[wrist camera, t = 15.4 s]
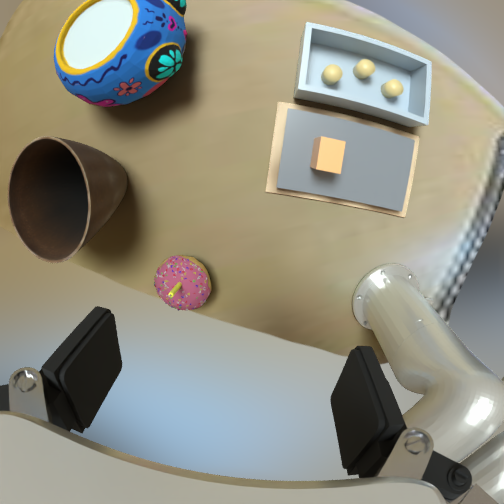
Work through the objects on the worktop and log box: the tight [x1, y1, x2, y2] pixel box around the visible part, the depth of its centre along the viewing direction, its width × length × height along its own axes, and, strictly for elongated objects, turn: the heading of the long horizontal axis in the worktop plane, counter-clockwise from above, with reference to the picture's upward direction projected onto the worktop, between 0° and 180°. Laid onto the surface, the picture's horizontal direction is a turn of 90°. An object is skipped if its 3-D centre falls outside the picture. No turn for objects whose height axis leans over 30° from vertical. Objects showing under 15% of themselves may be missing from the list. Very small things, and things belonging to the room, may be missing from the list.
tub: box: [293, 22, 431, 127], centre depth 30 cm, size 18×10×6 cm, turn 83°
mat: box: [266, 102, 419, 217], centre depth 37 cm, size 22×13×1 cm, turn 83°
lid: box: [276, 108, 415, 212], centre depth 34 cm, size 19×11×7 cm, turn 82°
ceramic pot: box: [54, 0, 187, 107], centre depth 26 cm, size 18×18×15 cm
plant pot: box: [8, 136, 127, 263], centre depth 33 cm, size 15×15×16 cm
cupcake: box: [154, 255, 212, 310], centre depth 39 cm, size 9×8×12 cm
